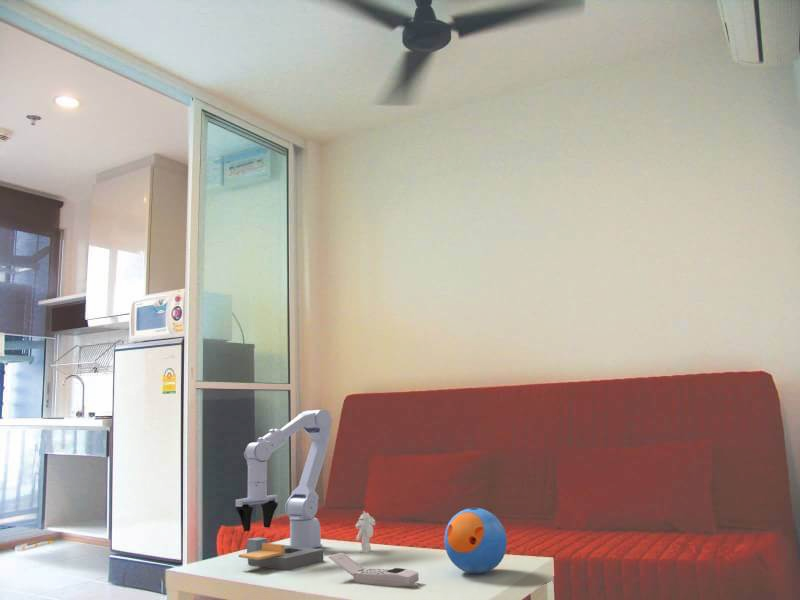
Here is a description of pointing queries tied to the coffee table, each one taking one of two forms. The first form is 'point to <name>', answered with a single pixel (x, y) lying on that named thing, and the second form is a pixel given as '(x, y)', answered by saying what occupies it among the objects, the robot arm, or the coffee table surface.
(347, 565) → the mobile phone
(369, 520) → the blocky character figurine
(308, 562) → the socket base
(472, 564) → the treat dispenser ball
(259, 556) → the panel
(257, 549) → the grey rectangular block
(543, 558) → the coffee table surface
